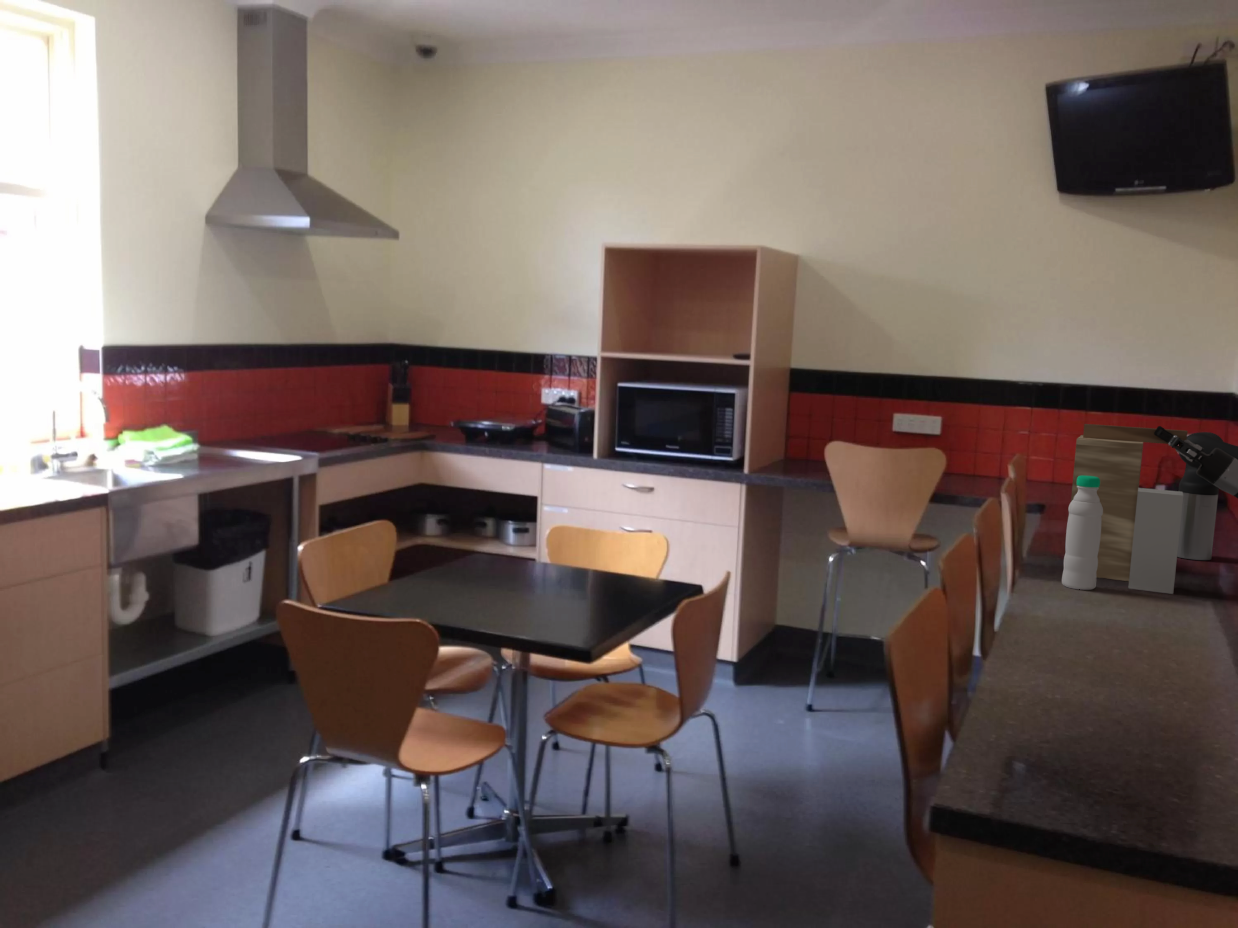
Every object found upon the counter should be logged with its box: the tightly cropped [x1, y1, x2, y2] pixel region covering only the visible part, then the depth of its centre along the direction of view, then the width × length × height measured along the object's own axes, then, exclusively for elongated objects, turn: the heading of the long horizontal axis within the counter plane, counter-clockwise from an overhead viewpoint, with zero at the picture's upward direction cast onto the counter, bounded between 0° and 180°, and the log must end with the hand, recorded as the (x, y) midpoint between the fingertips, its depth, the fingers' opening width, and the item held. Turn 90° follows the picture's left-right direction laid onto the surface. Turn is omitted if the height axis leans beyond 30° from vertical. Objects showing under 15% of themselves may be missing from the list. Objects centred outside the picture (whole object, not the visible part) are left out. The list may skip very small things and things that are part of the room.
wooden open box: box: [1070, 434, 1144, 582], centre depth 260 cm, size 18×14×32 cm
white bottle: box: [1061, 475, 1103, 591], centre depth 240 cm, size 7×7×25 cm
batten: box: [1082, 423, 1189, 445], centre depth 256 cm, size 3×22×3 cm, turn 64°
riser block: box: [1128, 487, 1183, 595], centre depth 243 cm, size 8×9×22 cm
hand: (1156, 429), depth 254 cm, fingers closed on batten, 3 cm apart
